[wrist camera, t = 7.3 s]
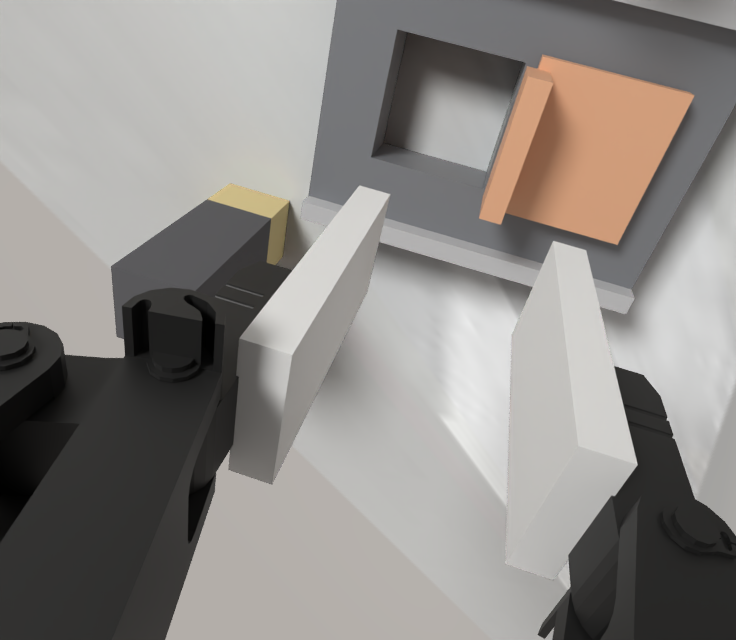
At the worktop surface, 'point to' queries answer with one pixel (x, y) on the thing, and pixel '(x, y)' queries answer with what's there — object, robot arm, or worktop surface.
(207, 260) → the plug
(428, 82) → the worktop surface
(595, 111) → the shutter
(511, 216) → the grey slab
